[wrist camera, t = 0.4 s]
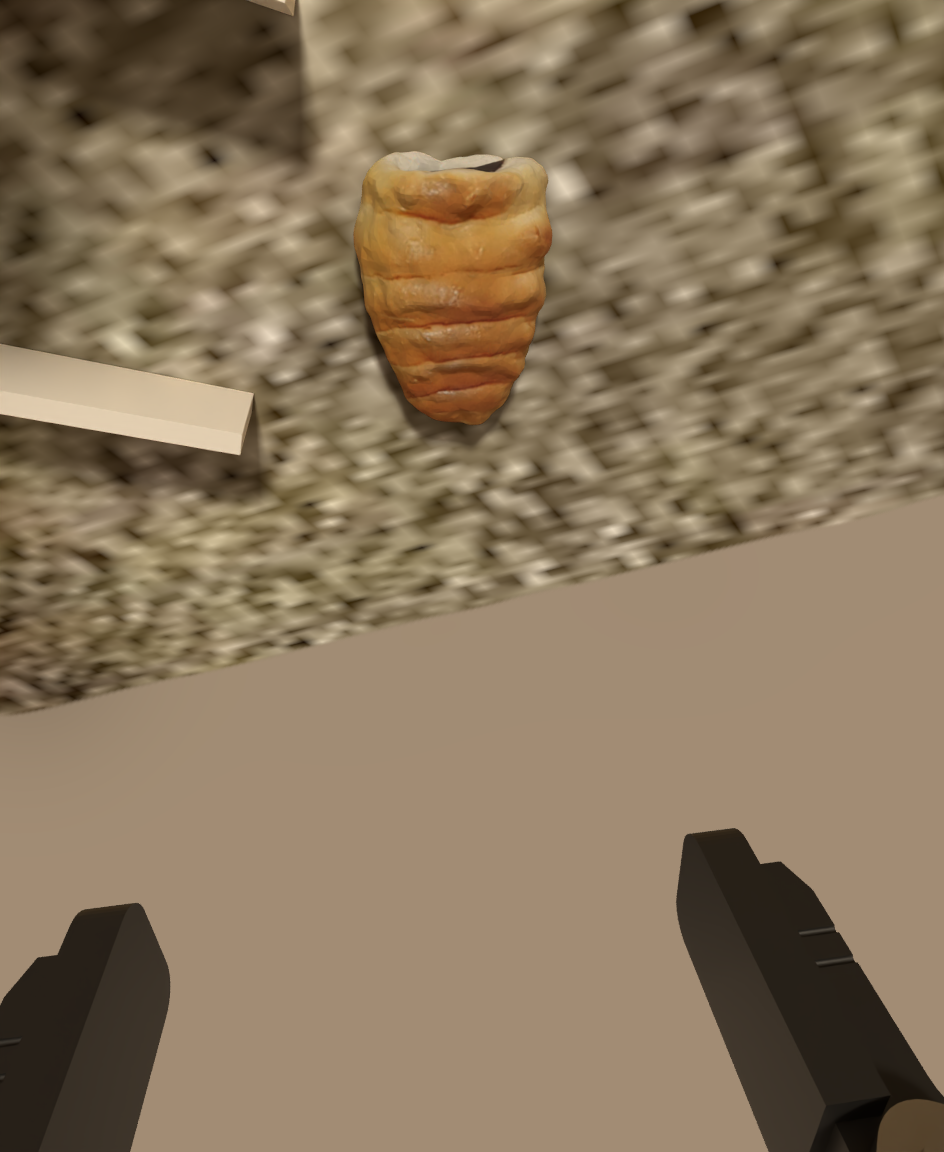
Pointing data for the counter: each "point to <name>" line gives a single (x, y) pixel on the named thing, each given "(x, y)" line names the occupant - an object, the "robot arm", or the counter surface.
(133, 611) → the counter surface
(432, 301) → the pastry
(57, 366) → the bin
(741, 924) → the robot arm
